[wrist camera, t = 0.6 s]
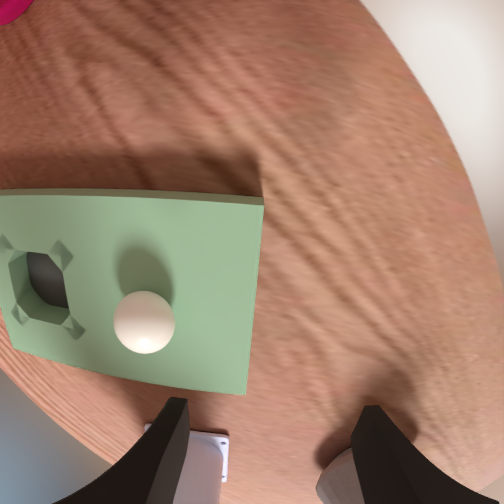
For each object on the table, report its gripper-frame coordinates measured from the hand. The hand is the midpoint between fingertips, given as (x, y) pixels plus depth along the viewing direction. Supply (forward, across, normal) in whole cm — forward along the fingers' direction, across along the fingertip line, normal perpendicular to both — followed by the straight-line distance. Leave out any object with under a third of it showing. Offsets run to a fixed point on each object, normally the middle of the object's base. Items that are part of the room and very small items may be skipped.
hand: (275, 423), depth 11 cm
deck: (+10, +11, 0) cm, 15 cm away
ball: (+6, +7, 0) cm, 9 cm away
